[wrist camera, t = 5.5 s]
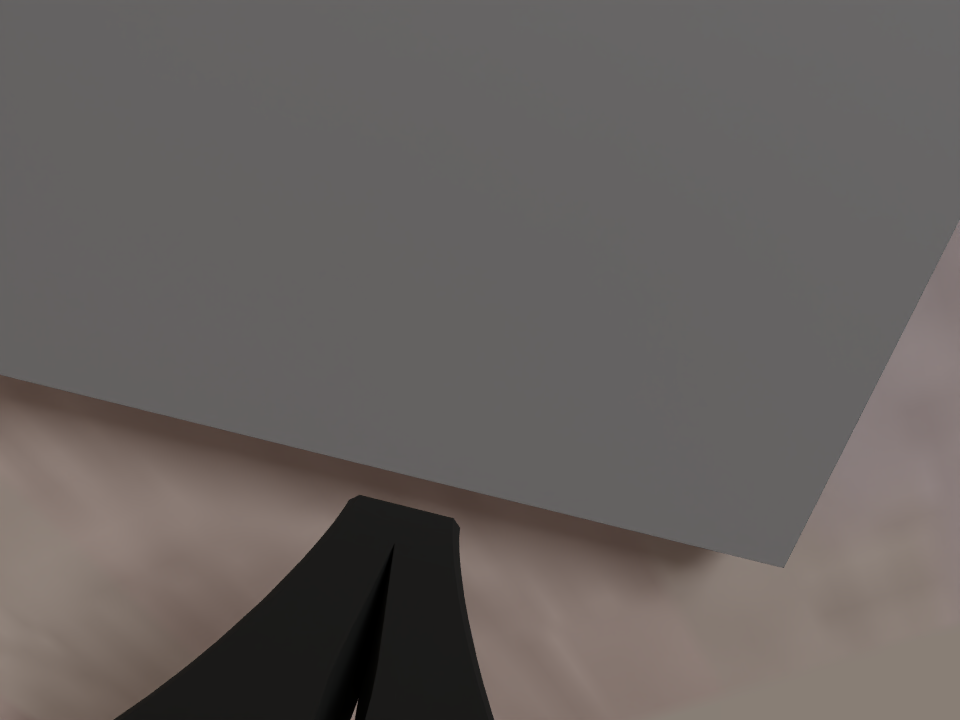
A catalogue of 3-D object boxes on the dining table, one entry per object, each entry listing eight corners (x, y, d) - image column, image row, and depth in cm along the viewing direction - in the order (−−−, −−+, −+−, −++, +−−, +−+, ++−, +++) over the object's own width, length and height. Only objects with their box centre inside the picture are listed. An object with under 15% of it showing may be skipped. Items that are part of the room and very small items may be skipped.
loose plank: (1072, -153, 13) (1151, -160, 11) (764, 503, 19) (784, 568, 17) (-23, -440, 13) (-120, -492, 11) (0, 314, 18) (-62, 360, 17)
